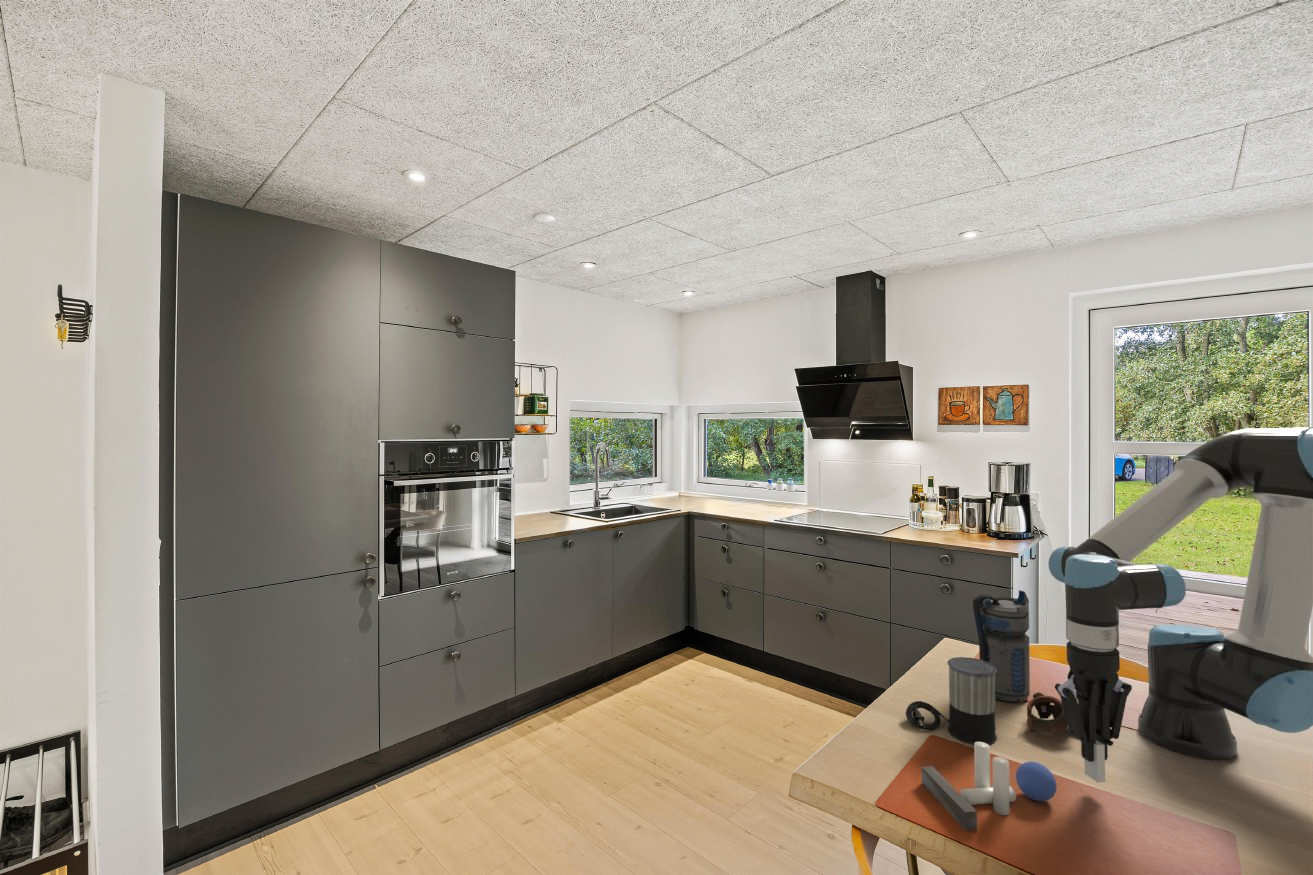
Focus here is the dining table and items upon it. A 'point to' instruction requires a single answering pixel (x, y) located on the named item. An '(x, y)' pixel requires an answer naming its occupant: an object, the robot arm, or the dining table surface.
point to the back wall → (949, 798)
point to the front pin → (983, 795)
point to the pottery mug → (1046, 714)
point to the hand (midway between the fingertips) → (1094, 777)
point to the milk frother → (965, 702)
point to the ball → (1036, 781)
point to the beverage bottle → (1005, 642)
